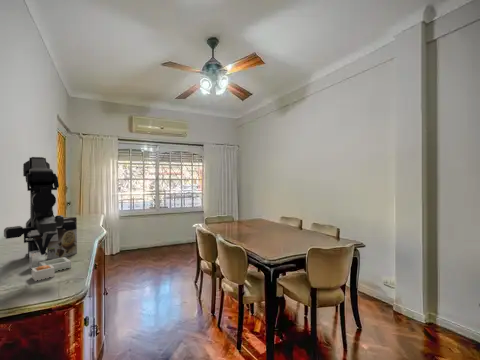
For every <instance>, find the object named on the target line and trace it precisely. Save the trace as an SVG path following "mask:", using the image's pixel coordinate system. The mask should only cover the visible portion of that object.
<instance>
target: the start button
mask: <svg viewBox="0 0 480 360" xmlns="http://www.w3.org/2000/svg"><path fill="white" fill-rule="evenodd" d="M48 268H49V266H48V265H44V266H39V267H37V271H38V270H43V269H48Z"/></svg>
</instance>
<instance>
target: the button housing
mask: <svg viewBox="0 0 480 360" xmlns="http://www.w3.org/2000/svg"><path fill="white" fill-rule="evenodd" d="M48 266H49V268H48V269H43V270H38V271H37V267H35V268H32V270H31V278H32V279H33V280H34V282H38V281H42V280H45V278H46V279H49V277H51V278H54V276H55V275H56V274H55V272H56V271H55V270H54V267H53V266H52V265H51V264H50V265H48ZM41 279H42V280H41ZM37 280H38V281H37Z"/></svg>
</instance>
